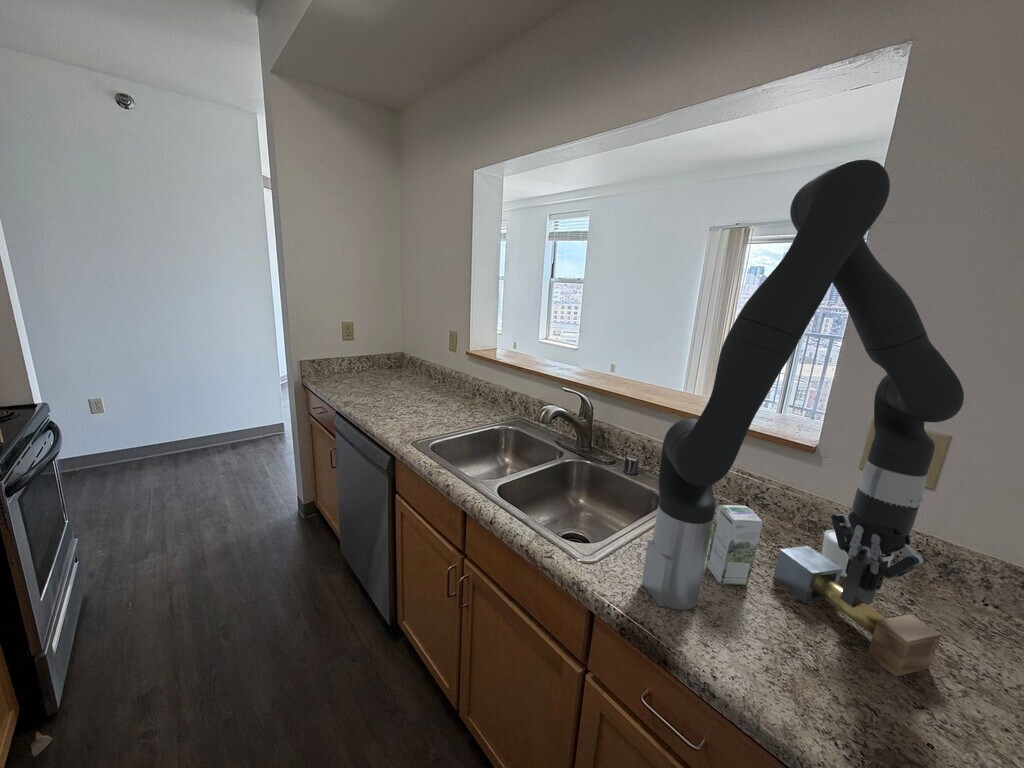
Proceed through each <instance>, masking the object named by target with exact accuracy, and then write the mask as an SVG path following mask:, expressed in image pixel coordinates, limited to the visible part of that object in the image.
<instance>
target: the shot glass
mask: <svg viewBox="0 0 1024 768" xmlns="http://www.w3.org/2000/svg"><path fill="white" fill-rule="evenodd" d="M845 540H846V539H845ZM821 555H823V556H824V557H826V558H827V559H829V560H830V561H832V562H833V563H835V564H836V565H838V566H839V567H841V568H842V572H841V576H840V577H845V578H846V577H847V574H846V571H845V570H846V566H847V563H848V559H849V557H848V554H847V553H846V552H845V551H844V550H841V549H840V548H839V546H838V542H837V538H836V534H835V530H834V529H827V530H826V531H824V534H823V542H822V549H821Z"/></svg>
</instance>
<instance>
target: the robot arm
mask: <svg viewBox="0 0 1024 768" xmlns="http://www.w3.org/2000/svg"><path fill="white" fill-rule="evenodd" d="M890 187H891V182H890V177H889V174H888V171H887V170H886V168H885V167H884V166H883V165H882V164H881V163H880V162H878V161H875V160H873V159H872V160H871V159H870V158H869V159H865V158H860V159H854V160H849V161H846V162H842V163H841V164H838V165H835V166H834V167H832V168H830V169H828V170H826V171H824V172H822V174H819V175H817V176H816V177H814V178H813V179H812V180H810V181H808V182H807V183H805V184H804V185H803V186H802V187H801V188H800V189H799V190H798V191H797V192H796V194H795V195H794V197H793V199H792V201H791V205H790V207H789V208H790V211H789V213H790V220H791V222H792V224H793V227H794V228H795V230H796V231H797V233H796V235H795V236H794V239H793V241H792V243H791V245H790V247H789V249H788V250H787V252H786V253H785V255H784V256H783V258H782V259H781V261H780V262H779V263H778V264H777V266H776V267H775V268H774V269H773V270H772V271H771V273H770V274H769V275H768V276H767V277H766V278H765V279H764V281H762V283H761V284H760V285H759V286H758V287H757V289H755V291H754V292H753V294H752V295H750V297H749V299H748V300H747V301H746V302H745V304H744V305H743V307H742V308H741V310H740V311H739V313H738V315H737V317H736V319H735V320H734V323H733V324H732V326H731V328H730V330H729V332H728V334H727V335H726V337H725V338H724V341H723V344H722V346H721V350H720V352H719V356H718V361H717V366H716V367H717V368H716V372H715V377H714V381H713V386H712V391H711V394H710V397H709V399H708V402H707V404H706V406H705V407H704V409H703V411H702V412H701V415H700V416H699V418H698V419H697V418H685V419H682V420H679V421H676V422H675V423H674V424H673V425H671V426H670V428H669V429H668V431H667V432H666V433H665V436H664V439H663V442H662V448H661V455H660V464H659V471H658V473H659V474H658V497H659V498H658V505H657V511H656V517H655V523H654V529H653V530H654V531H653V535H652V536H653V537H652V539H649V540H648V541H647V545H646V551H645V559H644V566H643V573H642V580H641V584H642V586H643V588H644V589H645V590H646V591H647V593H648V594H649V595H650V596H651V598H652V599H653V600H654V601H655V603H656V604H657V605H658V607H661V608H663V607H666V608H670V609H674V610H680V611H686V610H691V609H694V608H695V607H696V606H697V604H698V603H699V598H700V593H701V587H702V583H703V577H704V571H705V566H706V563H707V558H708V552H709V547H710V542H711V536H712V535H711V534H712V531H713V529H712V528H713V526H714V525H713V523H714V521H715V520H714V518H715V515H716V514H715V513H716V509H717V508H716V507H717V503H716V499H715V494H714V489H713V485H714V484H716V483H717V482H720V481H721V480H722V479H723V478H724V477H726V476H727V474H728V473H729V472H730V470H731V468H732V467H733V465H734V463H735V461H736V459H737V456H738V453H739V451H740V449H741V447H742V445H743V443H744V440H745V438H746V435H747V434H748V431H749V429H750V427H751V424H752V422H753V420H754V418H755V416H756V414H757V413H758V411H759V409H760V407H761V406H762V405H763V403H764V401H765V399H766V398H767V396H768V394H769V393H770V390H771V389H772V387H773V385H774V384H775V382H776V381H777V378H778V376H779V374H780V373H781V371H782V370H783V368H784V367H785V366H786V364H787V362H788V361H789V359H790V358H791V356H792V354H793V352H794V351H795V349H796V347H797V346H798V344H799V343H800V340H801V339H802V337H803V335H804V333H805V331H806V329H807V328H808V326H809V324H810V323H811V320H812V319H813V317H814V315H815V313H816V312H817V310H818V309H819V307H820V305H821V304H822V301H823V300H824V298H825V297H826V295H827V292H828V291H829V289H830V287H831V285H832V284H833V286H834V288H835V290H836V291H837V293H838V296H840V299H841V300H842V302H843V304H844V306H845V308H846V310H847V312H848V314H849V316H850V319H851V321H852V324H853V326H854V327H855V330H856V332H857V334H858V336H859V339H860V340H861V343H862V345H863V348H864V350H865V352H866V353H867V356H868V357H869V358H870V360H871V361H872V362H873V363H875V364H877V366H879V367H881V368H882V369H883V370H884V371H885V373H886V374H885V376H883V377H882V379H881V381H880V382H879V383H878V385H877V387H876V390H875V394H874V401H873V403H874V404H873V405H874V407H873V425H874V426H873V427H874V435H873V440H872V441H871V444H870V445H871V446H870V449H869V452H868V453H869V454H868V456H867V460H866V463H865V464H864V466H863V469H862V470H861V474H860V478H859V481H858V485H857V488H856V492H855V496H854V499H853V503H852V506H851V507H852V511H851V512H850V513H848V514H847V513H836V514H832V515H831V516H830V517H831V521H832V525H833V530H835V534H836V538H837V542H838V546H839V548H840V549H841V550H844V551H845V552H846V553H847V554H848V557H849V559H848V563H847V566H846V570H845V571H846V574H847V573H848V570H849V566H850V563H851V559H852V556H859V555H867V554H870V558H871V564H870V570H868V571H867V574H866V578H865V581H864V584H863V589H864V590H866V591H867V592H871V591H875V592H876V591H879V590H880V589H881V588H882V585H883V583H884V579H885V578H886V579H892V578H900V577H902V576H904V575H907V574H908V573H910V572H912V571H913V570H915V569H917V568H919V567H921V566H923V565H924V564H927V562H928V559H927V557H926V556H924V555H923V554H918V553H917V551H915V549H914V548H913V547H912V546H911V544H912V543H911V538H910V533H911V531H912V529H913V528H914V524H915V521H916V518H917V515H918V512H919V509H920V506H921V503H922V501H923V500H924V499H923V496H924V494H925V489H926V482H927V478H928V477H927V476H928V472H929V469H930V467H931V462H932V460H933V457H934V454H935V449H936V448H935V446H936V443H935V441H934V440H933V439H932V437H930V436H929V434H928V433H927V431H926V430H925V423H940V422H944V421H947V420H950V419H952V418H953V417H955V416H956V415H957V414H958V413H959V412H960V410H961V409H962V407H963V405H964V402H965V401H964V400H965V394H964V388H963V385H962V383H961V381H960V379H959V377H958V376H957V374H956V373H955V372H954V370H953V369H952V367H951V366H950V365H949V363H948V362H947V361H946V360H945V358H944V356H943V355H942V354H941V353H940V351H938V349H936V347H935V346H934V345H933V344H932V342H931V341H930V339H929V336H928V332H927V330H926V328H925V326H924V324H923V321H922V319H921V316H920V315H919V312H918V310H917V308H916V306H915V303H914V302H913V300H912V299H911V297H910V296H909V294H908V293H907V291H906V290H905V288H903V287H902V285H901V284H900V283H899V282H898V281H897V280H896V279H895V278H894V277H893V276H892V275H891V274H890V273H889V272H888V271H887V270H886V268H884V266H883V265H882V264H881V263H880V261H878V260H877V258H876V257H875V256H874V254H873V253H872V251H871V250H870V247H869V246H868V243H867V242H866V239H865V235H866V234H867V232H869V230H870V229H871V228H872V226H873V224H874V223H875V222H876V220H877V219H878V217H879V216H880V215H881V213H882V212H883V209H884V208H885V206H886V203H887V201H888V198H889V195H890V189H891V188H890ZM845 539H846V540H845ZM869 550H870V551H869ZM898 551H901V554H900V555H899V560H900V561H897V562H896V563H894V564H893V565H891V562H892V561H893V559H894V557H895V553H896V552H898Z"/></svg>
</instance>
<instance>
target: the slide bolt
mask: <svg viewBox="0 0 1024 768" xmlns="http://www.w3.org/2000/svg"><path fill="white" fill-rule="evenodd" d="M870 564H871V558H870V553H867V555H859V556H852V559H851V563H850V566H849V570H848V573H847V577H845V581H844V584H843V586H841V585H840V584H839V583H838V584H837V583H836V582H834V581H833V580H832V579H830V578H829V577H827V576H826V575H821V576H816V578H815V582H814V586H813V590H814V591H815V592H817V593H818V594H819V595H821V596H822V597H823V598H824V599H825V600H826V601H827V602H828V603H830V604H831V605H832V606H834V608H836V609H837V610H839V611H840V612H841V613H842V614H844V615H845V616H847V618H849V619H850V620H852V621H853V622H855V623H856V624H857V625H858V626H859V627H861V628H862V629H864V630H865V631H866V632H868V633H869V634H870V635H872V636H873V634H874V631H875V628H876V625H877V621H878V620H883V619H888V618H887V617H885V616H884V615H882V614H881V613H880V612H878V611H877V610H876V609H874V608H872V607H871V606H870V605H872V604H873V601H874V598H875V593H876V591H871V592H867V591H866V590H864V589H863V584H864V581H865V578H866V574H867V571H868V570H870Z"/></svg>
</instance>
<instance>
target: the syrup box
mask: <svg viewBox="0 0 1024 768" xmlns="http://www.w3.org/2000/svg"><path fill="white" fill-rule="evenodd" d="M763 523H764V522H763V520H762V519H761V518H760V517H759V516H758V515H757V514H756V513H755V511H753V510H752V509H750V508H749V507H748V506H746V505H735V504H731V505H730V504H728V505H727V504H718V505H717V508H716V514H715V520H714V525H713V529H712V533H711V534H712V535H711V538H710V543H709V548H708V552H707V557H706V562H705V566H706V567H707V569H708V570H709V571H710V573H711V574H712V575H713V577H714V578H715V579H716V581H717V582H718V584H719V585H724V586H725V585H732V586H733V585H734V586H735V585H736V586H748V585H749V583H750V577H751V573H752V569H753V564H754V561H755V560H754V559H755V556H756V552H757V548H758V545H759V540H760V536H761V532H762V527H763Z"/></svg>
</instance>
